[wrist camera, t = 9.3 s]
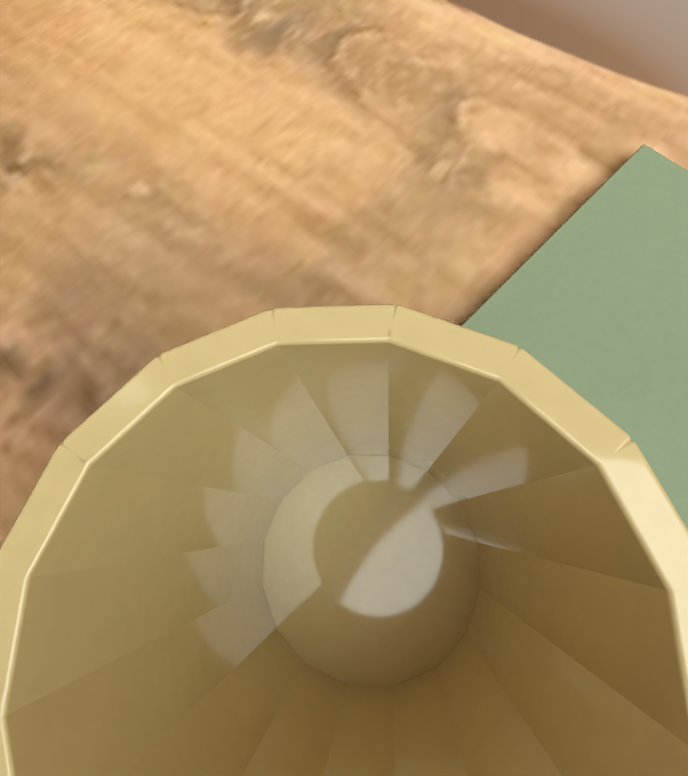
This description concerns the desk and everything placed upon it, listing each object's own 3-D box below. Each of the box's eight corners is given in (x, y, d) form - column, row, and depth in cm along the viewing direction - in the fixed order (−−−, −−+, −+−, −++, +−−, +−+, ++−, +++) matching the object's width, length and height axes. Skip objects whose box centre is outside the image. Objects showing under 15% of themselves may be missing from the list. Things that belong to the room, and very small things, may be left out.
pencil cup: (208, 558, 16) (-162, 639, 5) (368, 399, 17) (334, 192, 6) (371, 755, 14) (314, 1538, 3) (541, 563, 15) (931, 676, 4)
